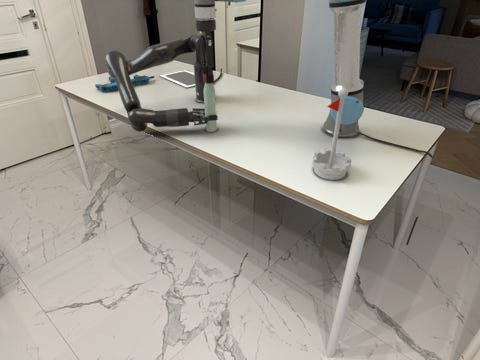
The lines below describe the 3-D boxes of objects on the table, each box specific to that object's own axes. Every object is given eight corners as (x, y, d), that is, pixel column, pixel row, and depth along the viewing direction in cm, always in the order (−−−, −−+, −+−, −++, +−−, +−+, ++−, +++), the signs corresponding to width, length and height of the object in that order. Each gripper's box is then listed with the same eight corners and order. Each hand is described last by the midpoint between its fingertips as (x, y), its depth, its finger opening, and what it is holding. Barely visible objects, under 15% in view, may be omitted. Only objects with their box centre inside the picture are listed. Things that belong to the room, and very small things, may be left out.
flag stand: (334, 159, 128) (348, 80, 112) (356, 176, 118) (375, 92, 101) (304, 166, 124) (314, 84, 108) (324, 184, 114) (338, 97, 97)
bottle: (218, 130, 151) (216, 76, 138) (209, 132, 148) (206, 78, 135) (213, 126, 154) (210, 74, 141) (204, 129, 152) (200, 76, 139)
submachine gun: (140, 69, 223) (158, 75, 206) (141, 75, 225) (159, 81, 208) (87, 79, 204) (103, 87, 188) (89, 85, 206) (105, 94, 190)
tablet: (159, 76, 220) (159, 75, 220) (185, 70, 231) (185, 69, 231) (186, 88, 199) (186, 87, 199) (214, 81, 210) (214, 80, 210)
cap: (205, 83, 137) (204, 76, 135) (202, 80, 140) (201, 74, 139) (215, 82, 138) (215, 75, 137) (212, 79, 142) (212, 73, 140)
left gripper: (178, 119, 153) (215, 116, 156) (178, 132, 142) (218, 129, 144) (176, 103, 149) (214, 101, 152) (176, 115, 138) (218, 113, 140)
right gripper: (220, 22, 120) (222, 87, 133) (211, 15, 134) (213, 74, 147) (199, 23, 119) (203, 88, 131) (192, 16, 133) (196, 76, 145)
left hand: (216, 115), depth 148 cm, fingers closed on bottle, 4 cm apart
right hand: (208, 81), depth 139 cm, fingers closed on cap, 4 cm apart
